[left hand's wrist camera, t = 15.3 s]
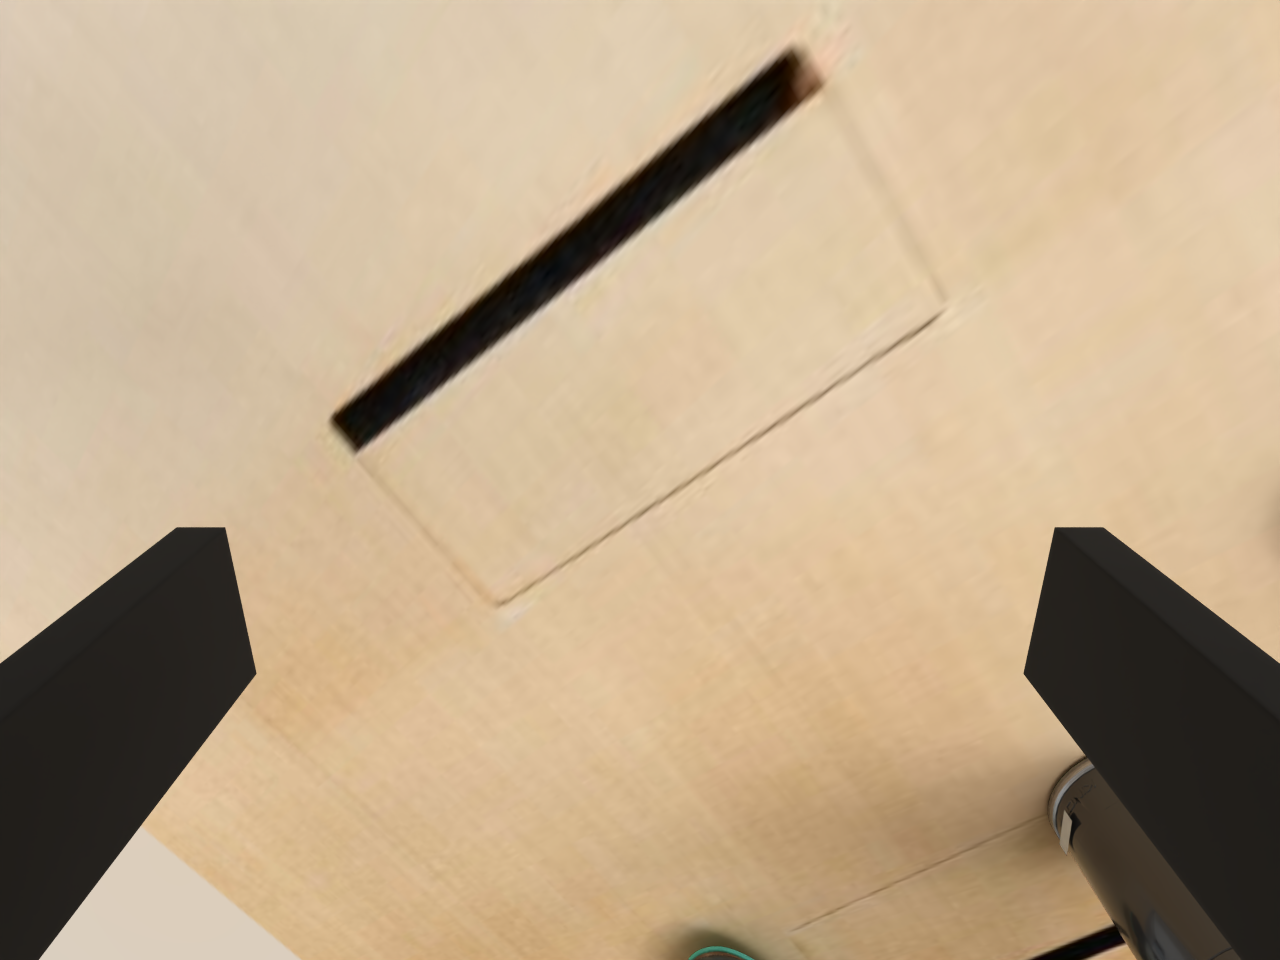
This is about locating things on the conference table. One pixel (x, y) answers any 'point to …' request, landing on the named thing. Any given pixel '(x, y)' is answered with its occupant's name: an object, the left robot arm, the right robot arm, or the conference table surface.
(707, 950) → the ballet flat
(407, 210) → the conference table surface
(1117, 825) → the right robot arm
